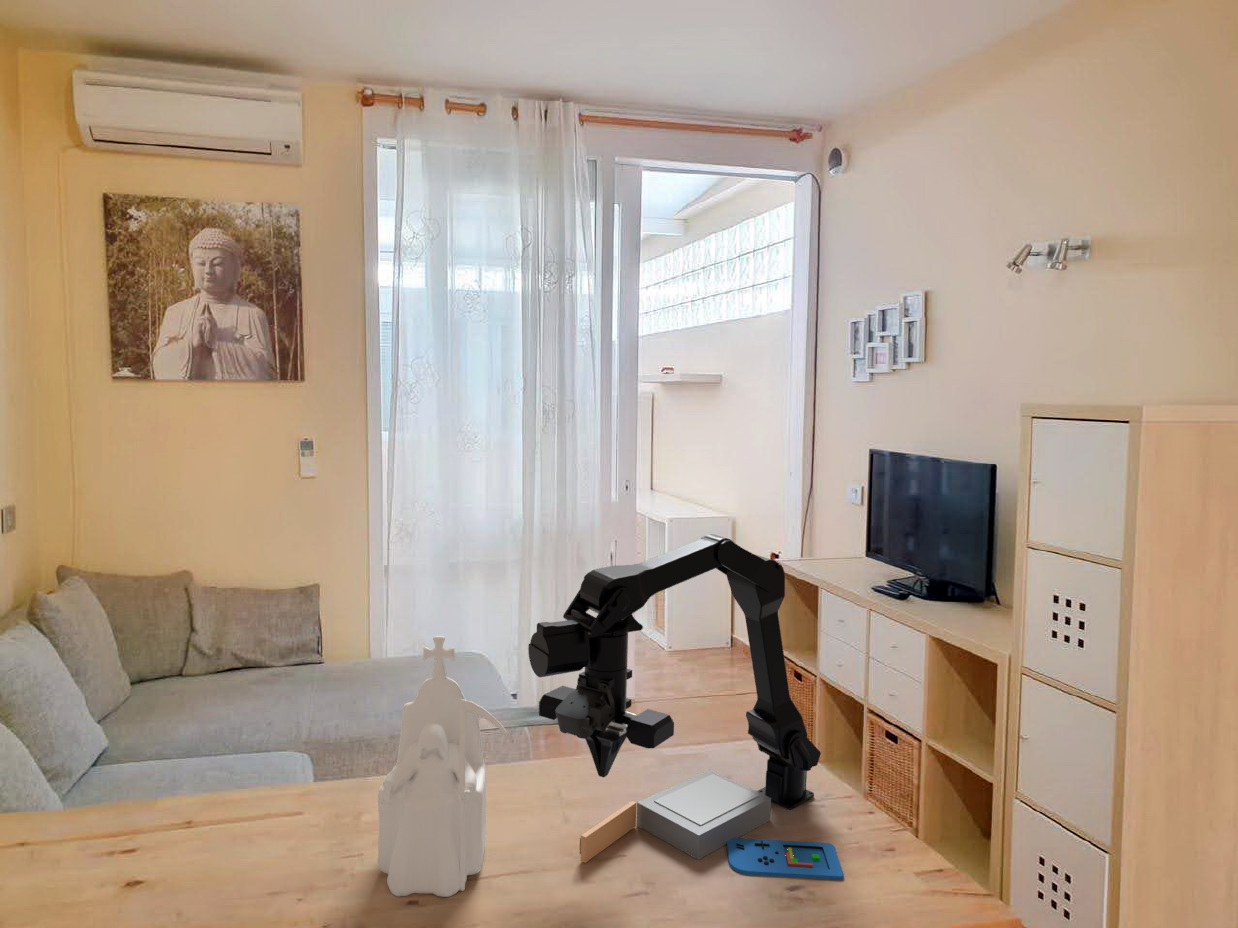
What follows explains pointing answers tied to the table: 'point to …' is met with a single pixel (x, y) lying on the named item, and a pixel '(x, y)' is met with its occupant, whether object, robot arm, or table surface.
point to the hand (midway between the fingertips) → (603, 775)
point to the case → (703, 813)
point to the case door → (607, 831)
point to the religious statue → (435, 790)
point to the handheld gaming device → (784, 858)
